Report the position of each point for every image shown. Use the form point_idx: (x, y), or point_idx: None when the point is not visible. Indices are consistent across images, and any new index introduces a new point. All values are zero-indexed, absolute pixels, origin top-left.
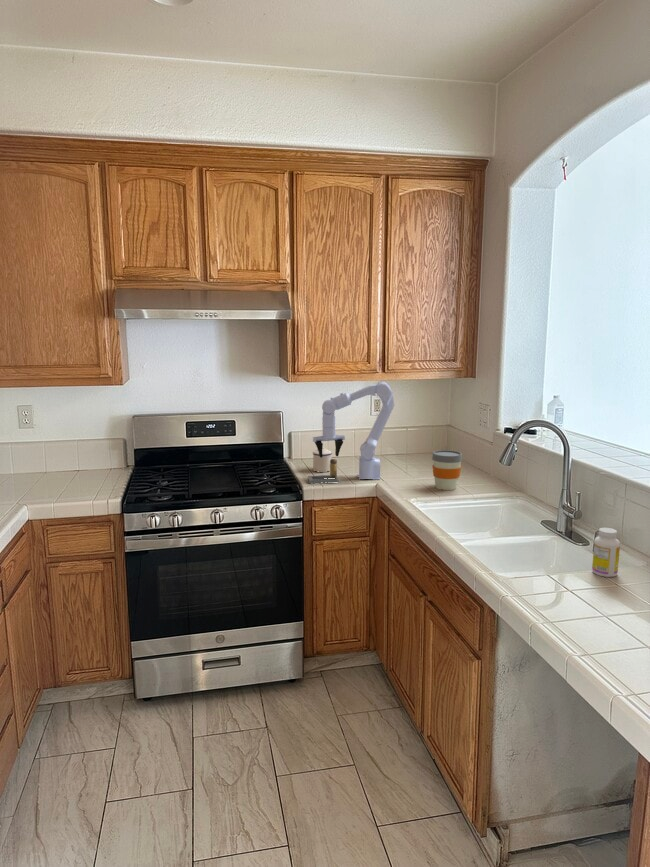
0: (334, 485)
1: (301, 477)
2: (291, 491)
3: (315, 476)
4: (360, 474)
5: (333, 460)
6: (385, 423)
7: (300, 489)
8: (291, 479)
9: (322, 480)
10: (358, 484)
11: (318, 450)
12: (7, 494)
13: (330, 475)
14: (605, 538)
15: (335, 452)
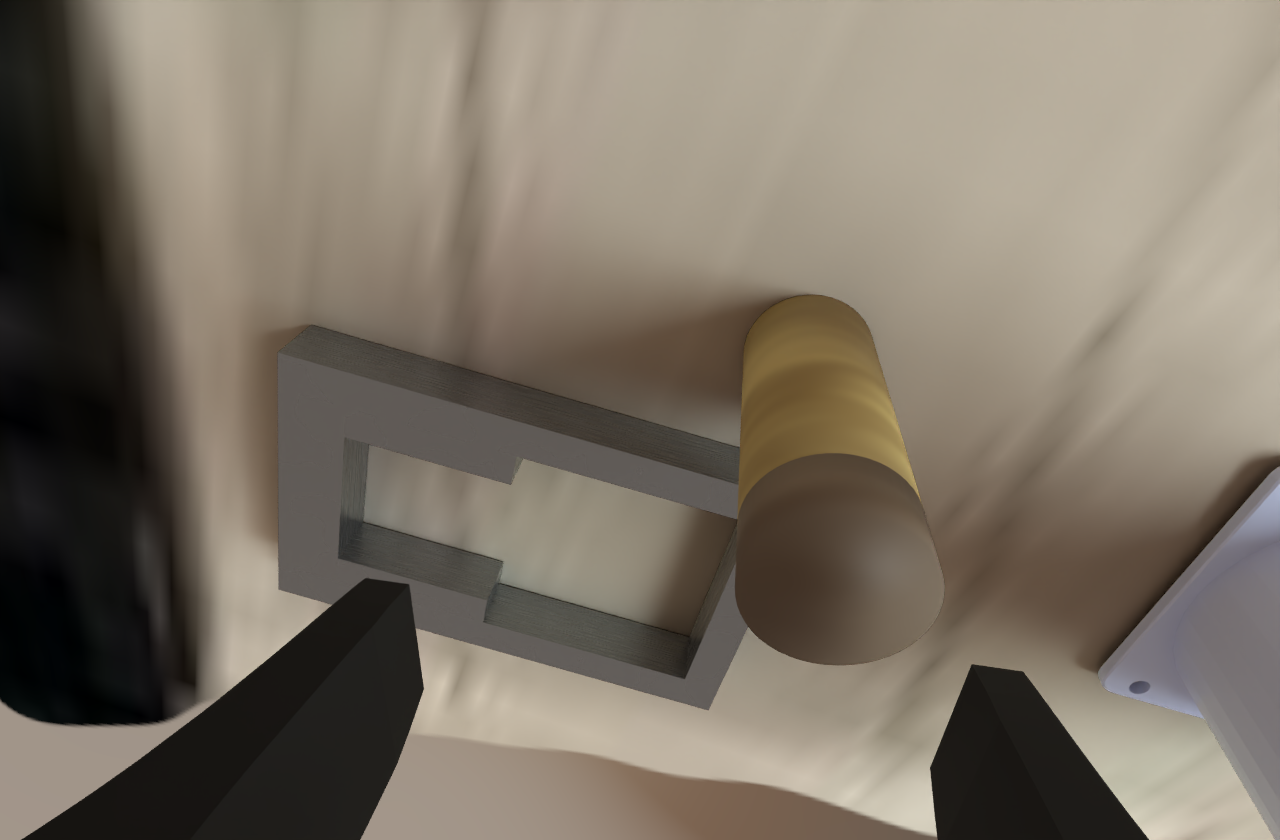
0: (613, 712)
1: (206, 151)
2: (86, 698)
3: (408, 442)
4: (1200, 681)
5: (800, 642)
6: None
7: (183, 682)
8: (27, 221)
9: (472, 637)
10: (925, 787)
11: (185, 755)
12: None
13: (691, 484)
14: None
15: (1007, 751)
